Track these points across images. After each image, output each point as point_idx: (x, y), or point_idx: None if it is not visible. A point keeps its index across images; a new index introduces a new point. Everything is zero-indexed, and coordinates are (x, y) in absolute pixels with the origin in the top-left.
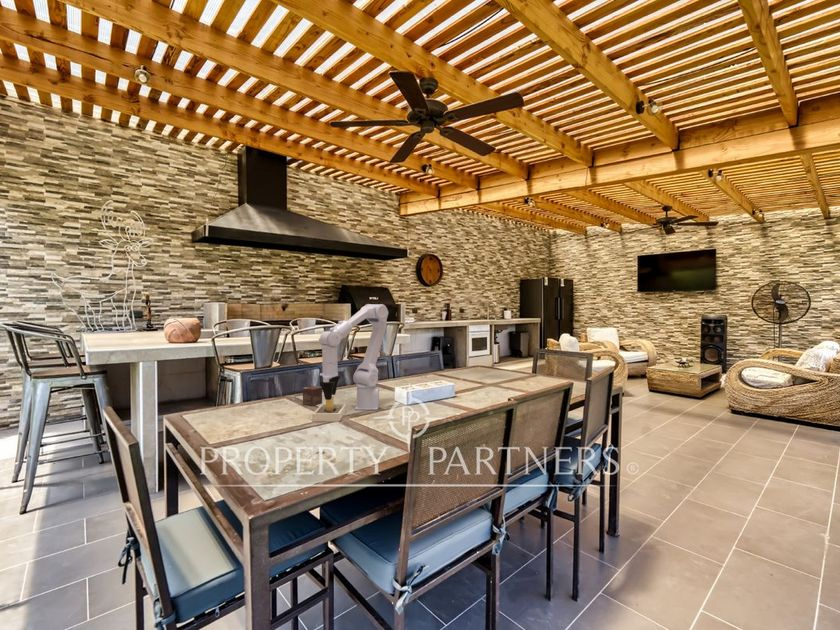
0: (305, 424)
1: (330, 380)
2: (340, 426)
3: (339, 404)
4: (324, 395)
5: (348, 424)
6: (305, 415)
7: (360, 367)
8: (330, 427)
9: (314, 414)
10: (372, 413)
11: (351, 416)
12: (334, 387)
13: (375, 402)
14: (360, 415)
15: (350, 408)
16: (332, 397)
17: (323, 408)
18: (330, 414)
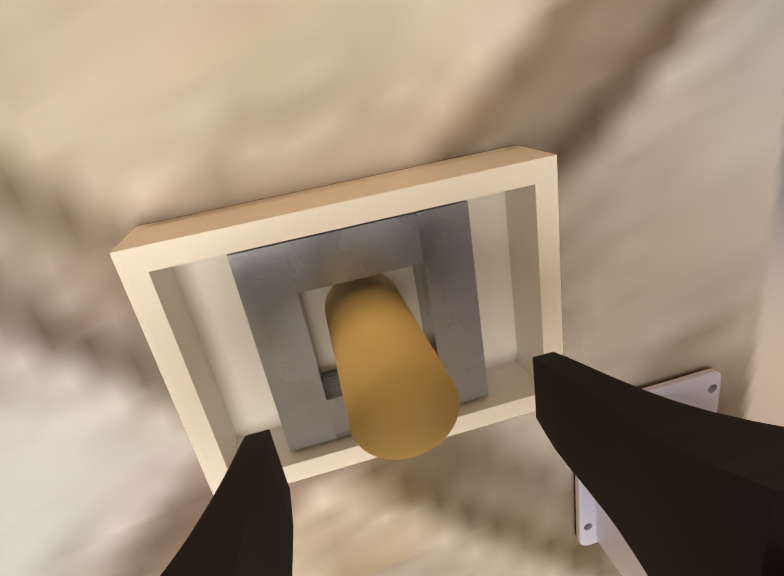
0: (8, 198)
1: (707, 543)
2: (102, 513)
3: (549, 349)
4: (222, 480)
5: (179, 536)
6: (339, 22)
7: None
8: (37, 461)
9: (122, 270)
10: (495, 544)
11: (396, 460)
12: (602, 487)
13: (623, 568)
14: (434, 502)
15: (622, 353)
16: (398, 452)
17: (417, 237)
18: (189, 427)
